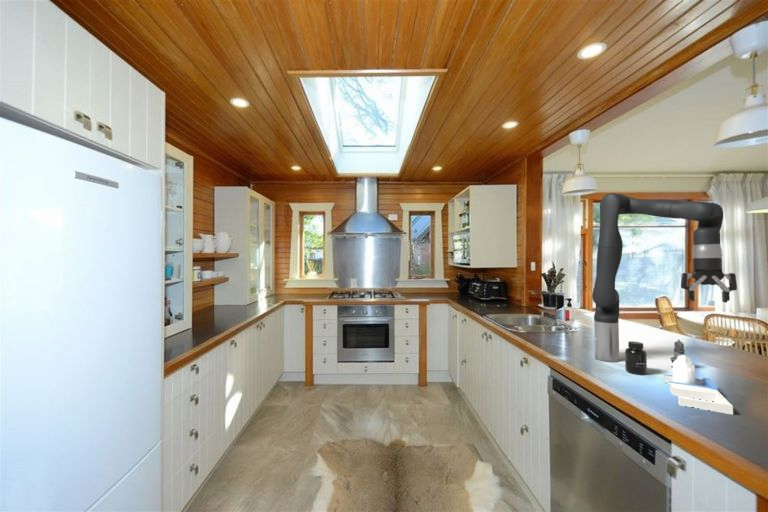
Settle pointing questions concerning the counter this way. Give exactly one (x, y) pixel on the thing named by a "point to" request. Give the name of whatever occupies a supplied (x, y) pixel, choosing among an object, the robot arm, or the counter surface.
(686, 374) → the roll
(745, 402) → the counter surface
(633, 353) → the supplement bottle
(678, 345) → the dark grey turned piece
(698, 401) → the white rail frame
